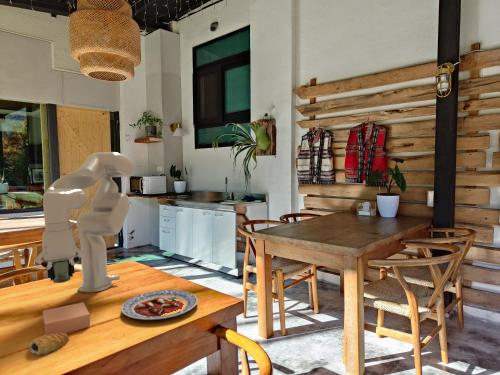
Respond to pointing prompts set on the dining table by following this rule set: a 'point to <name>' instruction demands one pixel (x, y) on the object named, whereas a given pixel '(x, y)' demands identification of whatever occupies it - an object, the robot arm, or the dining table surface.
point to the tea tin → (61, 270)
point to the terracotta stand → (66, 318)
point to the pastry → (48, 343)
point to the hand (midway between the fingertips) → (61, 277)
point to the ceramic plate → (158, 304)
